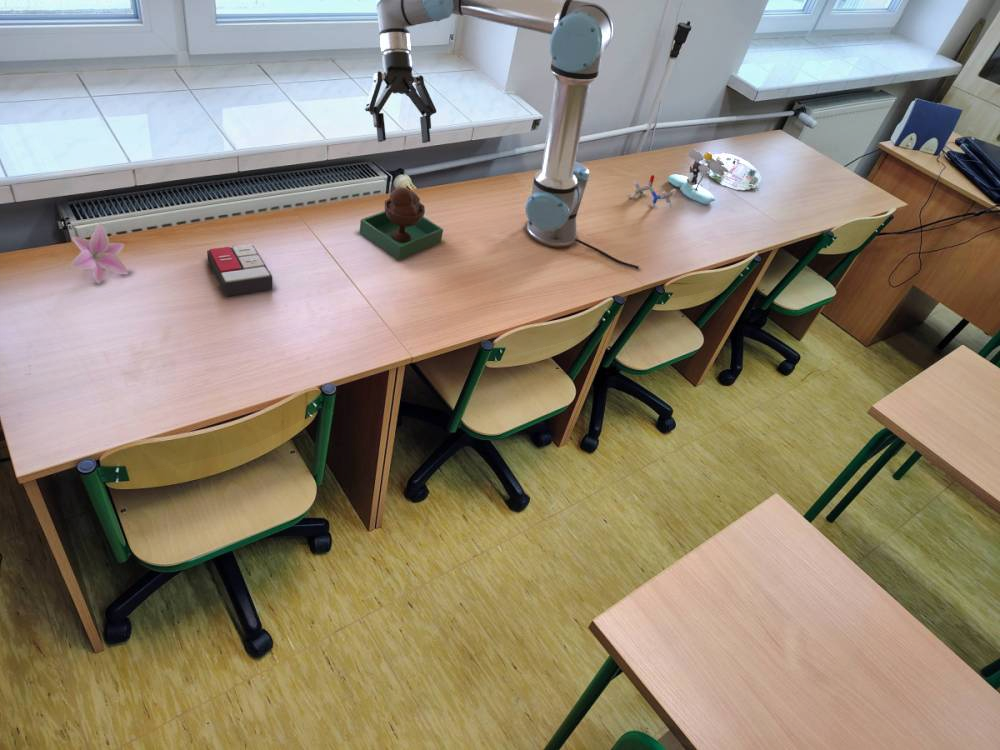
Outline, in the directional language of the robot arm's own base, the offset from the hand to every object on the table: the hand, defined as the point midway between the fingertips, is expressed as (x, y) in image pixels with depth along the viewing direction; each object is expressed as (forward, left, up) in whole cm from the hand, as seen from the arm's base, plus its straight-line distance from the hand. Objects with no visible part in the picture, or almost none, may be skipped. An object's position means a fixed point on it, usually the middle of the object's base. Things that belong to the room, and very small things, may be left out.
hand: (404, 141), depth 184 cm
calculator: (+3, +48, -25) cm, 54 cm away
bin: (-6, +3, -25) cm, 26 cm away
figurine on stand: (-39, -110, -25) cm, 119 cm away
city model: (-41, -140, -25) cm, 148 cm away
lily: (+20, +72, -25) cm, 79 cm away
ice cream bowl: (-6, +3, -25) cm, 26 cm away
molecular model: (-35, -86, -25) cm, 96 cm away
